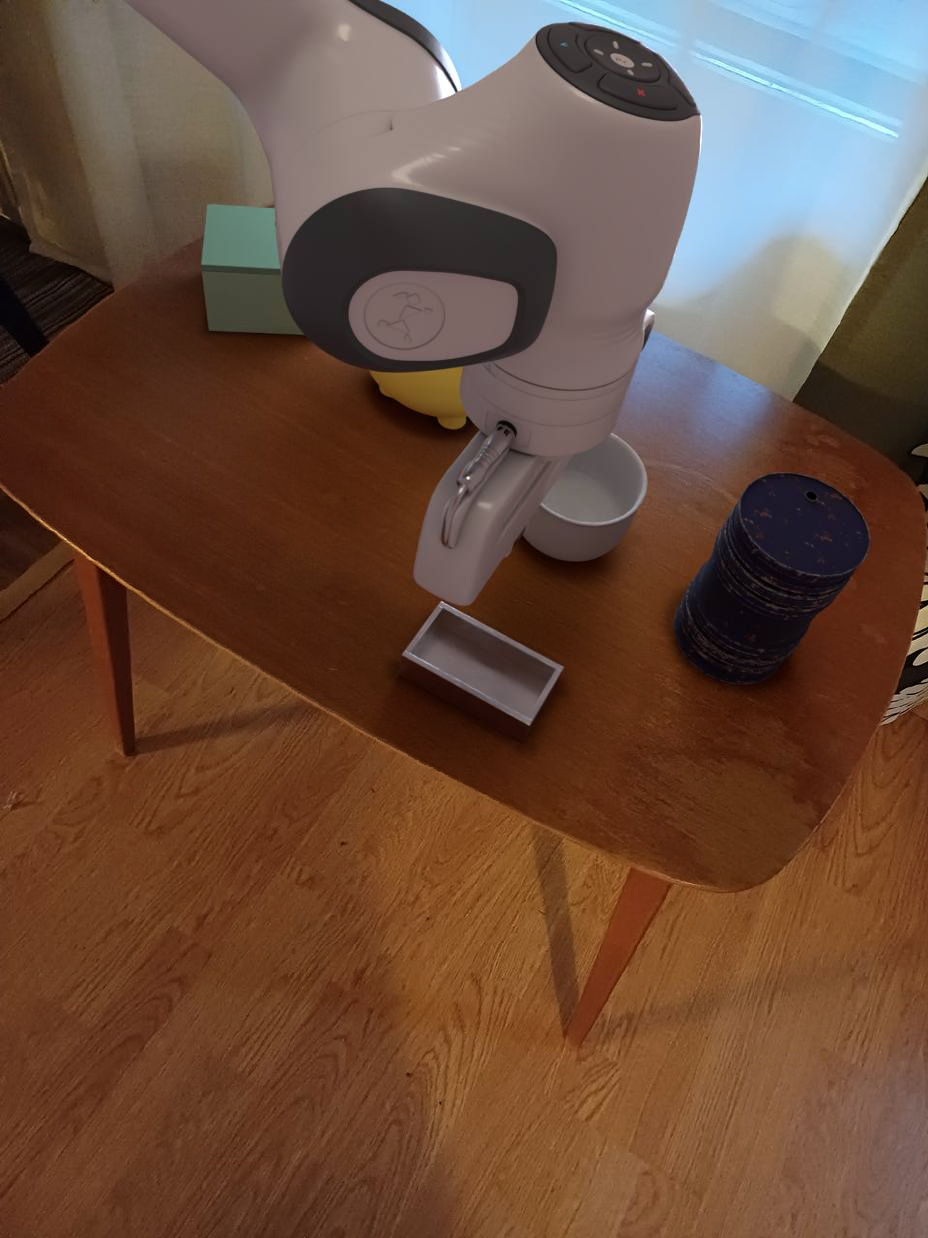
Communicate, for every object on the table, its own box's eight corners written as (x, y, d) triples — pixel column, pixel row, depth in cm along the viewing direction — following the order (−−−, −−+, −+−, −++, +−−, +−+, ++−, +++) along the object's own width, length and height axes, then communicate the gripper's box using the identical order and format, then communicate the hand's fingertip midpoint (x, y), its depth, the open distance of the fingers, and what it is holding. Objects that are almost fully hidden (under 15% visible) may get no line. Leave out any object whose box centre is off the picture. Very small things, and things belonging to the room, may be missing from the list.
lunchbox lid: (333, 218, 93) (333, 211, 92) (334, 278, 88) (334, 271, 87) (207, 209, 91) (206, 203, 90) (201, 270, 86) (200, 264, 85)
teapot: (292, 371, 90) (288, 245, 78) (383, 294, 98) (391, 170, 87) (466, 466, 86) (489, 348, 74) (546, 377, 94) (577, 258, 83)
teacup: (638, 515, 85) (665, 453, 78) (599, 599, 79) (624, 540, 72) (501, 456, 87) (516, 391, 80) (452, 533, 81) (464, 470, 74)
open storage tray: (398, 674, 72) (401, 654, 70) (436, 621, 75) (440, 600, 73) (522, 744, 70) (529, 725, 68) (556, 686, 73) (564, 667, 71)
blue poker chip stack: (772, 704, 75) (861, 598, 63) (658, 657, 76) (723, 543, 64) (794, 615, 81) (880, 501, 68) (688, 572, 82) (753, 452, 70)
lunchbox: (326, 276, 98) (326, 217, 93) (327, 336, 93) (328, 277, 88) (214, 270, 97) (207, 210, 91) (208, 331, 91) (201, 271, 86)
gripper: (509, 526, 43) (472, 678, 54) (667, 300, 54) (609, 465, 65) (392, 469, 44) (380, 628, 55) (570, 259, 55) (529, 428, 66)
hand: (505, 539), depth 60 cm, fingers closed
